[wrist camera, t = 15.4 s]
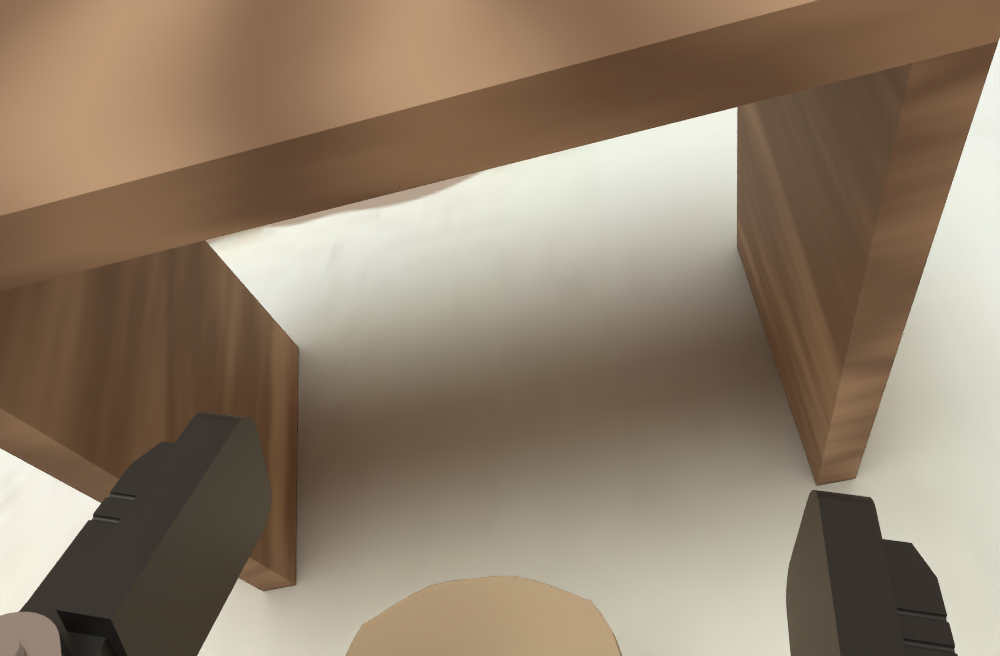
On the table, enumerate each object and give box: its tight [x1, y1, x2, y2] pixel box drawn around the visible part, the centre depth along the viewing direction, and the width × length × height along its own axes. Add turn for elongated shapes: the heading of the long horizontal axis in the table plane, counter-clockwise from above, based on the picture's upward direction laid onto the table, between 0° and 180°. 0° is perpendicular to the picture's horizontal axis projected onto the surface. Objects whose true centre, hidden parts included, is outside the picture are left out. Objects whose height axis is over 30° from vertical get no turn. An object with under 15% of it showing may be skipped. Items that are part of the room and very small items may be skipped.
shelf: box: [0, 0, 1000, 591], centre depth 29 cm, size 25×12×24 cm, turn 97°
